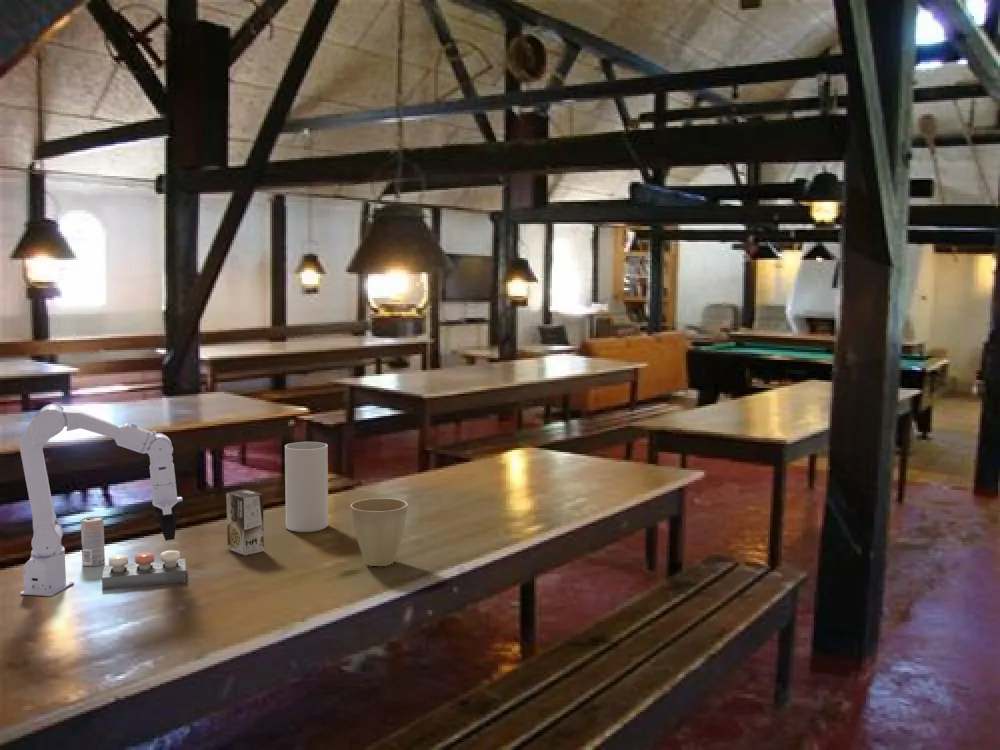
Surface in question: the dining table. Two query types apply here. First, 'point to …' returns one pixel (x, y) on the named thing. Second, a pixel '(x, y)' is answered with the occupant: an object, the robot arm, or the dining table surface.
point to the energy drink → (92, 541)
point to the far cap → (170, 558)
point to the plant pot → (379, 528)
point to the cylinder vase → (306, 486)
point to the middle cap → (144, 560)
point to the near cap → (118, 562)
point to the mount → (143, 575)
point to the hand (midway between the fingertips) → (169, 535)
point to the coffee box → (245, 522)
